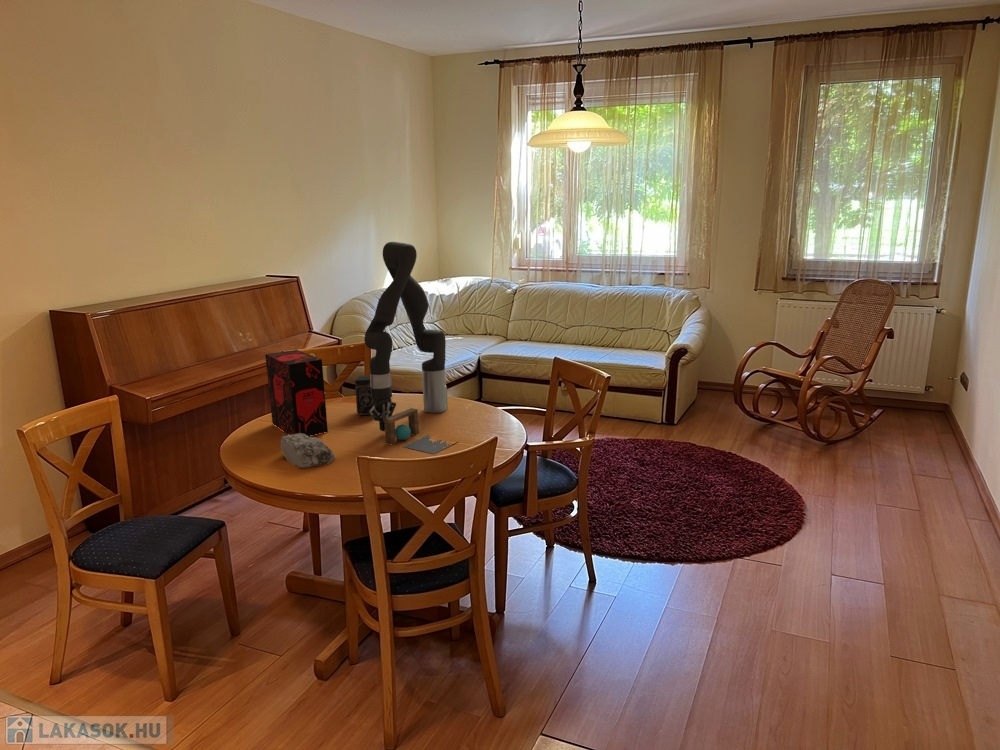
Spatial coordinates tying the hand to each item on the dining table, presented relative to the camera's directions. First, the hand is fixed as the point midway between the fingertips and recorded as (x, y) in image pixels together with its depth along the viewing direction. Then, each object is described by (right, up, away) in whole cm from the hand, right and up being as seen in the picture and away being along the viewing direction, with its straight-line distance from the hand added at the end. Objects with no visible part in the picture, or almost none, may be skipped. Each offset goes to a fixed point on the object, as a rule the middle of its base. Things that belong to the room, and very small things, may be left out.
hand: (383, 430), depth 255 cm
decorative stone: (-21, -8, -23) cm, 32 cm away
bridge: (+8, -2, -4) cm, 9 cm away
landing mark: (+18, -4, -11) cm, 22 cm away
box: (-34, 0, +9) cm, 35 cm away
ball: (+8, 0, -6) cm, 10 cm away
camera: (-9, +5, +27) cm, 29 cm away
